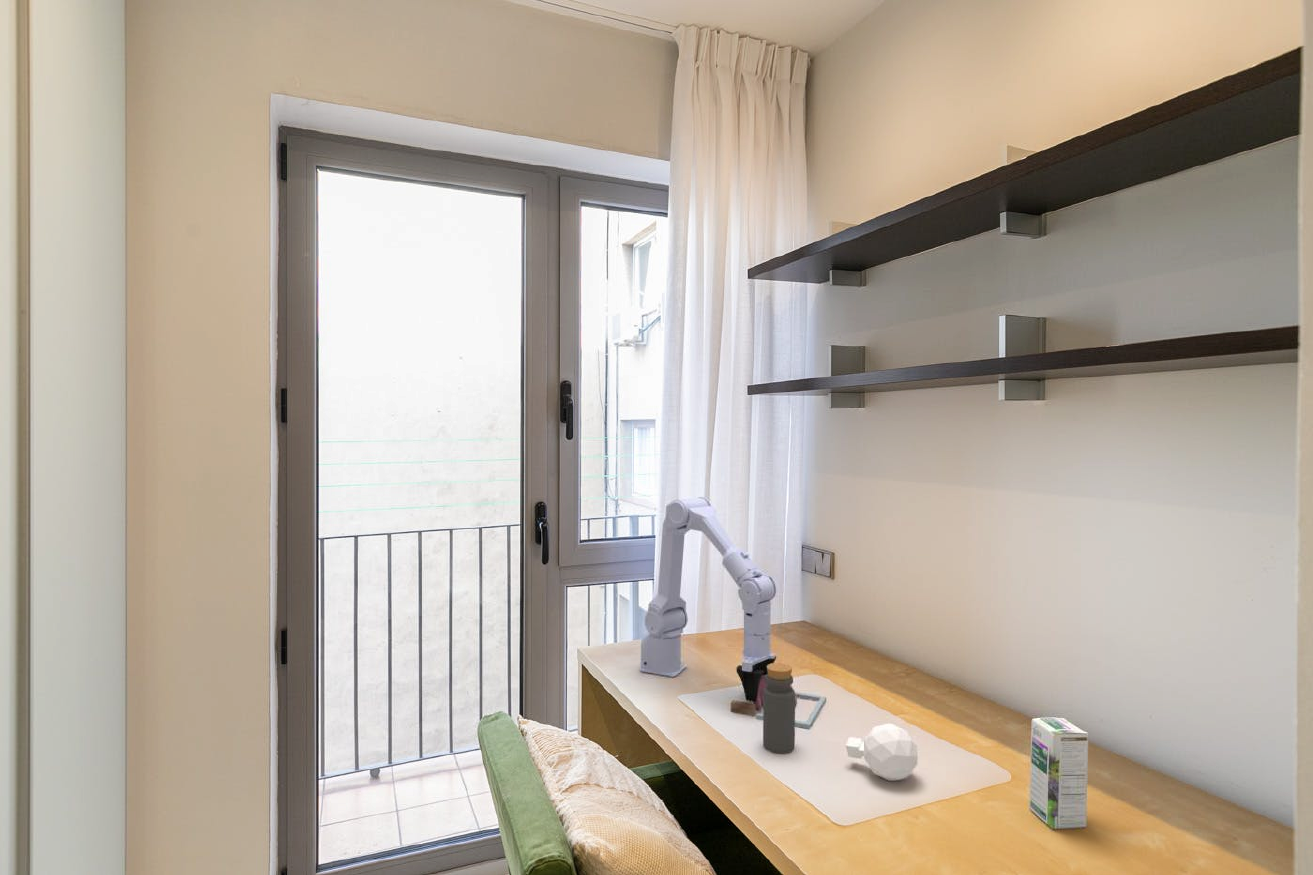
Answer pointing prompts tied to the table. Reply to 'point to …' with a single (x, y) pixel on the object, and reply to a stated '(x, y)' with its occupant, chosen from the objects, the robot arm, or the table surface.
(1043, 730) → the syrup box
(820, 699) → the frame
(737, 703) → the wooden blocks
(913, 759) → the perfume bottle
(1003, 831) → the table surface
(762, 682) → the video game controller
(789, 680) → the bottle
